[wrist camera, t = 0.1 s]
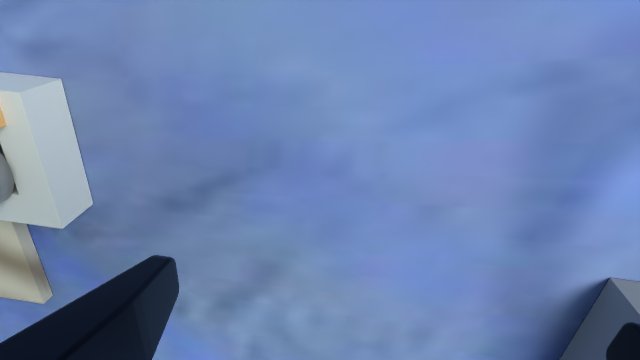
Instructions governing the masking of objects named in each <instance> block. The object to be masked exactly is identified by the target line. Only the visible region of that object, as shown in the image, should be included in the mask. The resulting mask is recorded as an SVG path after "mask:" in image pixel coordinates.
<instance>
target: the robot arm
mask: <svg viewBox="0 0 640 360" xmlns="http://www.w3.org/2000/svg"><path fill="white" fill-rule="evenodd" d="M178 293H179V282H178V275H177V268H176V263H175V260H174V259H173V258H172V257H167V256H160V255H154V256H151V257H149V258H147V259H146V260H144V261H142V262H140V263H139V264H137V265H135V266H133V267H132V268H130V269H128V270H126V271H125V272H123V273H121V274H120V275H118V276H116V277H114V278H113V279H111V280H109V281H107V282H106V283H104V284H102V285H100V286H99V287H97V288H95V289H93V290H92V291H90V292H88V293H86V294H85V295H83V296H81V297H80V298H78V299H76V300H74V301H73V302H71V303H69V304H67V305H66V306H64V307H62V308H60V309H59V310H57V311H55V312H53V313H52V314H50V315H48V316H46V317H45V318H43V319H41V320H40V321H38V322H36V323H34V324H33V325H31V326H29V327H27V328H26V329H24V330H22V331H20V332H19V333H17V334H15V335H13V336H12V337H10V338H8V339H6V340H5V341H3V342H1V343H0V360H152V358H153V356H154V353H155V351H156V349H157V346H158V344H159V341H160V339H161V336H162V334H163V331H164V329H165V326H166V324H167V321H168V319H169V317H170V314H171V312H172V309H173V307H174V304H175V302H176V299H177V297H178ZM606 360H640V323H637V322H627V323H625V324H623V326H622V327H621V328H620V330H619V331H618V332H617V334H616V335H615V337H614V338H613V340H612V341H611V342H610V344H609V345H608V347H607V349H606Z"/></svg>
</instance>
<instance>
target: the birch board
mask: <svg viewBox="0 0 640 360" xmlns="http://www.w3.org/2000/svg"><path fill="white" fill-rule="evenodd" d="M52 295H53V294H52V291H51V288H50V286H49V283H48V280H47V278H46V275H45V272H44V270H43V267H42V264H41V262H40V259H39V256H38V254H37V251H36V248H35V246H34V243H33V240H32V237H31V235H30V232H29V229H28V227H27V224H25V223H17V222H10V221H3V220H0V297H3V298H10V299H16V300H22V301H29V302H35V303H42V304H44V303H45V302H46V301H47V300H48V299H49V298H50V297H51V296H52Z"/></svg>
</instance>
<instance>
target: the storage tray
mask: <svg viewBox="0 0 640 360" xmlns="http://www.w3.org/2000/svg"><path fill="white" fill-rule="evenodd" d="M627 322H637V323H640V282H636V281H629V280H622V279H615V278H610V279H609V280H608V282H607V283H606V285H605V287H604V288H603V290H602V292H601V293H600V295H599V296H598V298H597V300H596V301H595V303H594V304H593V306H592V308H591V309H590V311H589V313H588V314H587V316H586V317H585V319H584V321H583V322H582V324H581V325H580V327H579V329H578V330H577V332H576V334H575V335H574V337H573V338H572V340H571V342H570V343H569V345H568V347H567V348H566V350H565V351H564V353H563V355H562V356H561V358H560V359H559V360H606V349H607V347H608V345H609V344H610V342H611V341H612V340H613V338H614V337H615V335H616V334H617V332H618V331H619V330H620V328H621V327H622V326H623V324H625V323H627Z"/></svg>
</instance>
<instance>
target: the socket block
mask: <svg viewBox="0 0 640 360" xmlns="http://www.w3.org/2000/svg"><path fill="white" fill-rule="evenodd" d="M0 144H1V147H2V149H3V152H4V155H5V157H6V160H7V163H8V165H9V166H10V169H11V171H12V174H13V178H14V189H13V192H12V194H11V196H10V197H9V198H8V199H7V200H5V201H3V202H2V203H0V220H3V221H10V222H17V223H25V224H32V225H39V226H46V227H53V228H60V229H63V228H64V227H66V226H67V225H68V224H69V223H70V222H72V221H73V220H74V219H75V218H77V217H78V216H79V215H80V214H81V213H83V212H84V211H85V210H86V209H88V208H89V207H90V206H91V205H93V201H92V197H91V193H90V189H89V185H88V181H87V177H86V174H85V170H84V166H83V162H82V158H81V154H80V150H79V146H78V143H77V139H76V135H75V131H74V127H73V123H72V119H71V115H70V112H69V108H68V104H67V100H66V96H65V92H64V88H63V84H62V81H61V79H57V78H48V77H40V76H31V75H22V74H14V73H5V72H0Z"/></svg>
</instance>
